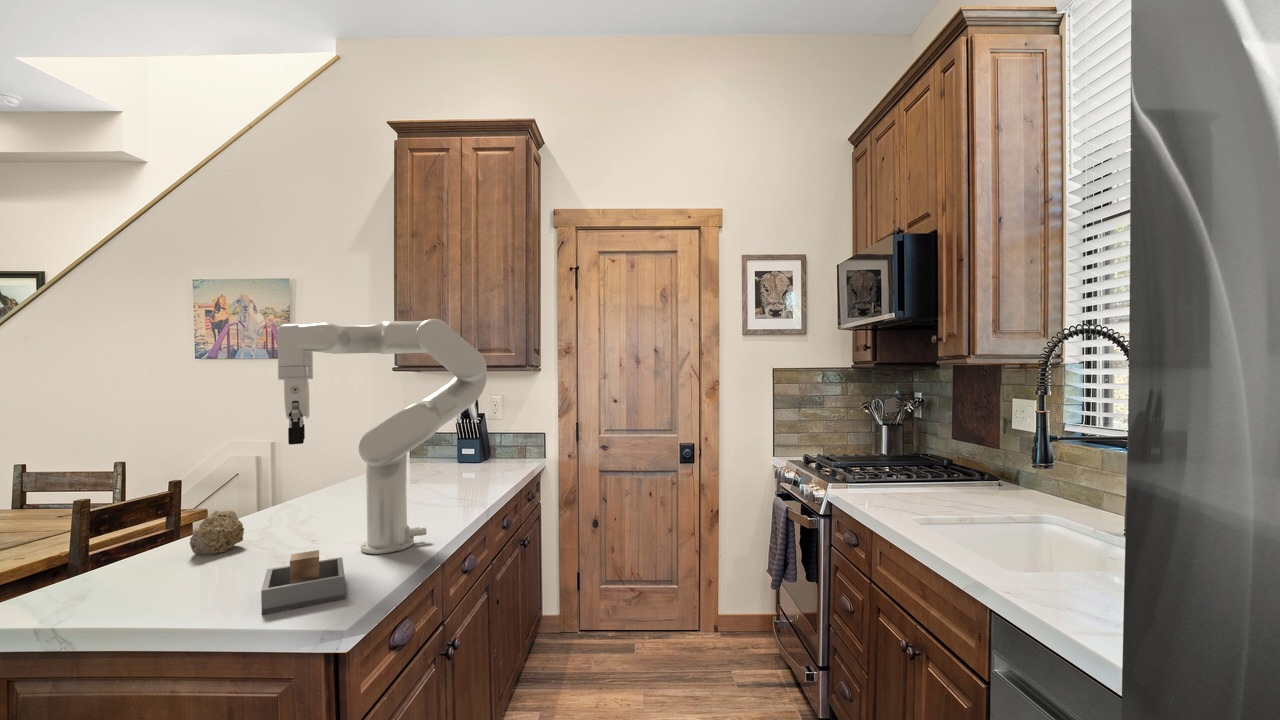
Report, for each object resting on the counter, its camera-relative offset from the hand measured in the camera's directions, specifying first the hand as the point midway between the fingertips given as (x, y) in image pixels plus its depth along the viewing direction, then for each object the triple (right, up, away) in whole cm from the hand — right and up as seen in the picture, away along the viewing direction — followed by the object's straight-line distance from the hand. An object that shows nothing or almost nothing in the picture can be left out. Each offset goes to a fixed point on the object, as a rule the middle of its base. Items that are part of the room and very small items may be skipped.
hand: (296, 442), depth 145 cm
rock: (-25, -29, +5) cm, 39 cm away
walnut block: (+17, -27, -26) cm, 41 cm away
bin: (+17, -28, -27) cm, 42 cm away
